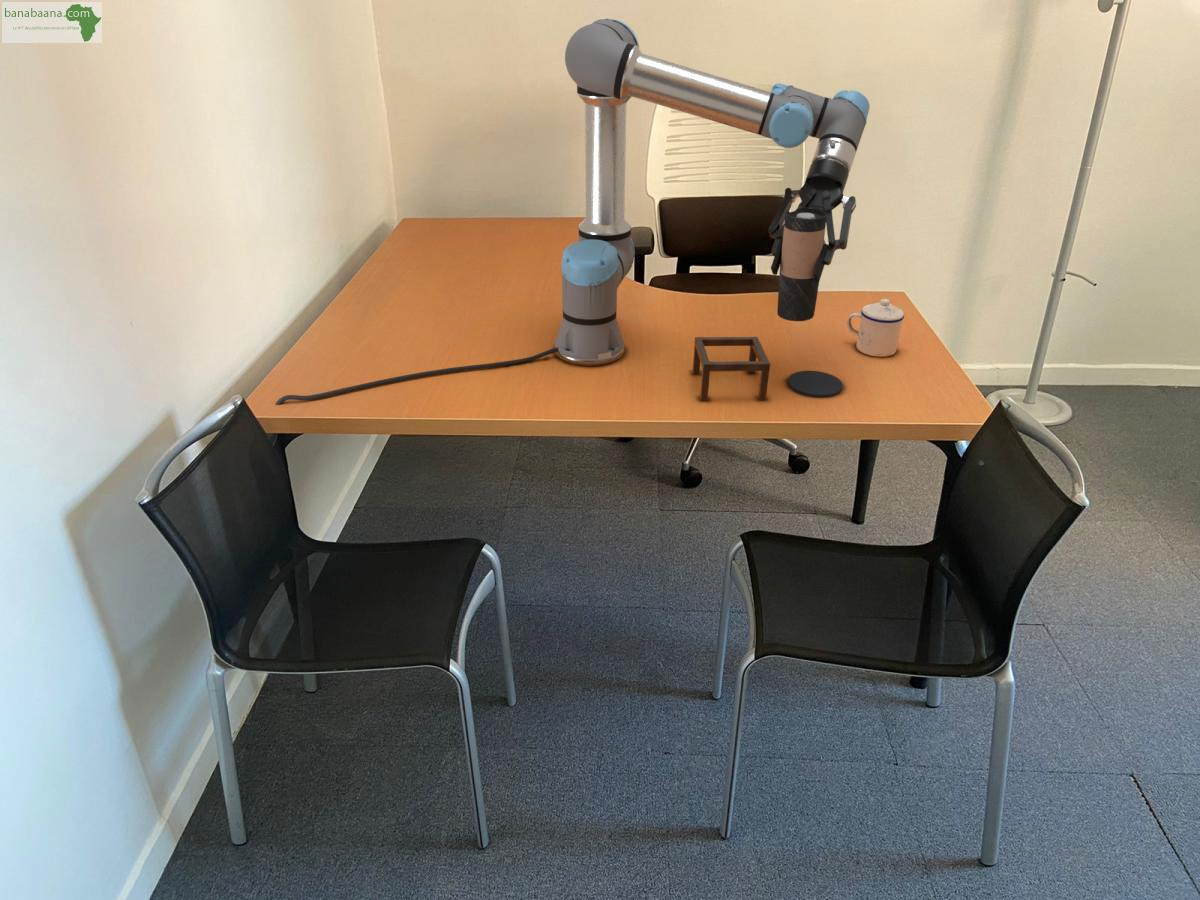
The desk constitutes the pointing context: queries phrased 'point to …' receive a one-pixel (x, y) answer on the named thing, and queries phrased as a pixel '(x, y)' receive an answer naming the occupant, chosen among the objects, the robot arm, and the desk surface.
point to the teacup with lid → (878, 328)
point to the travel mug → (800, 263)
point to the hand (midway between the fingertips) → (794, 274)
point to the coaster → (815, 383)
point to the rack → (747, 366)
